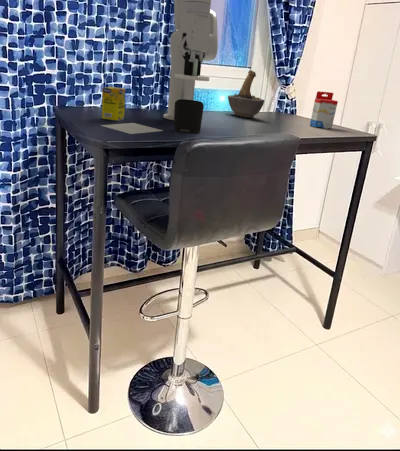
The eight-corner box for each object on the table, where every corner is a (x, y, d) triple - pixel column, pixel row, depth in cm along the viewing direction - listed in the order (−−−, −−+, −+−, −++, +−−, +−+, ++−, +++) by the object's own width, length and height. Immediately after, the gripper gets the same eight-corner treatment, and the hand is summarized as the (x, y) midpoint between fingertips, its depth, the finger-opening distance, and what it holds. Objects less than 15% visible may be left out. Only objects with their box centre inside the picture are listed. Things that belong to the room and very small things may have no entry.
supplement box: (118, 123, 141) (119, 89, 136) (101, 120, 142) (101, 87, 137) (124, 120, 146) (125, 88, 142) (108, 118, 147) (109, 86, 143)
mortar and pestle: (261, 121, 180) (268, 72, 173) (223, 116, 182) (228, 68, 175) (261, 117, 194) (268, 71, 186) (226, 112, 196) (231, 67, 188)
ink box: (315, 127, 179) (322, 92, 173) (309, 125, 183) (316, 91, 178) (332, 128, 181) (339, 93, 176) (326, 126, 186) (333, 92, 180)
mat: (133, 124, 141) (133, 122, 141) (163, 132, 133) (163, 130, 133) (100, 127, 130) (100, 125, 130) (130, 135, 123) (130, 133, 123)
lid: (189, 77, 138) (191, 58, 136) (216, 81, 132) (218, 61, 130) (166, 76, 130) (168, 55, 128) (194, 80, 124) (196, 59, 122)
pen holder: (166, 130, 137) (168, 99, 134) (187, 129, 144) (190, 99, 140) (185, 136, 131) (188, 103, 128) (206, 134, 138) (210, 103, 134)
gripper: (204, 13, 132) (198, 75, 139) (169, 5, 120) (165, 73, 127) (223, 14, 128) (216, 77, 135) (189, 6, 116) (183, 76, 122)
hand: (191, 75), depth 131 cm, fingers closed on lid, 3 cm apart
